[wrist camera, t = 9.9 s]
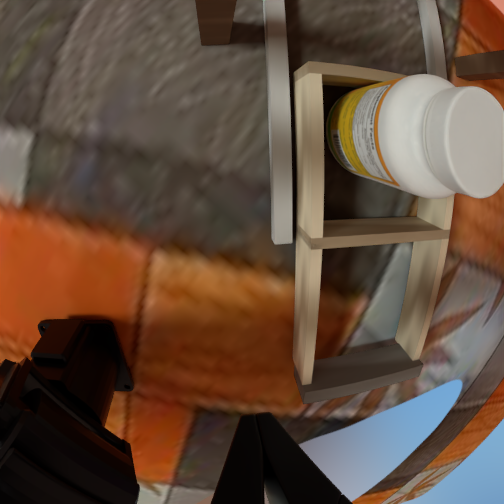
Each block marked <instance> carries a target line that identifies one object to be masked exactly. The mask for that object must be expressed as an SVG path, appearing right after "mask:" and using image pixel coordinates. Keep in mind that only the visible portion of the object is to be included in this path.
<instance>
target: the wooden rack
mask: <svg viewBox="0 0 504 504" xmlns="http://www.w3.org/2000/svg"><path fill="white" fill-rule="evenodd" d="M402 77H406V75H402V74H397V73H392V72H387V71H382V70H376V69H370V68H364V67H357V66H350V65H342V64H333V63H323V62H311V61H308V62H307V63H306V64H304V65H303V66H302V67H300V68H299V69H298V70H296V71H295V72H294V73H293V86H294V111H295V146H296V274H295V310H294V336H293V357H292V358H293V361H294V364H295V366H294V377H295V380H296V383H297V386H298V389H299V392H300V395H301V398H302V401H303V404H308V403H314V402H319V401H324V400H329V399H334V398H339V397H344V396H348V395H353V394H357V393H361V392H365V391H369V390H373V389H377V388H381V387H384V386H388V385H392V384H395V383H399V382H402V381H405V380H409V379H412V378H415V377H418V376H419V375H420V372H421V370H422V367H423V363H422V362H421V361H420V360H419V357H420V354H421V351H422V348H423V345H424V342H425V339H426V336H427V332H428V329H429V325H430V322H431V318H432V315H433V311H434V307H435V303H436V299H437V295H438V291H439V287H440V282H441V278H442V273H443V268H444V263H445V258H446V252H447V247H448V241H449V234H450V227H451V220H452V212H453V203H454V194H453V195H451V196H449V197H446V198H442V199H428V198H424V197H420V196H419V198H418V209H417V217H390V218H366V219H344V220H325V221H323V213H324V121H323V92H322V85H331V86H342V87H352V88H362V87H366V86H370V85H373V84H377V83H381V82H385V81H389V80H393V79H398V78H402ZM404 242H414V244H413V251H412V257H411V264H410V270H409V276H408V281H407V287H406V292H405V297H404V302H403V306H402V311H401V316H400V320H399V324H398V328H397V332H396V336H395V340H396V342H397V343H398V344H394V345H390V346H386V347H381V348H377V349H372V350H367V351H362V352H357V353H352V354H347V355H342V356H336V357H331V358H325V359H319V360H314V354H315V344H316V334H317V322H318V310H319V296H320V281H321V264H322V249H329V248H342V247H354V246H367V245H379V244H391V243H404Z"/></svg>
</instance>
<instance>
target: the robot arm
mask: <svg viewBox="0 0 504 504" xmlns="http://www.w3.org/2000/svg"><path fill="white" fill-rule="evenodd" d="M105 326H107V327H109V329H107V328H105ZM44 327H45V328H44ZM38 330H39V332H40V335H41V338H40V340H39V341H38V343H37V344H36V346H35V347H34V349H33V350H32V352H31V357H32V360H31V361H30V360H29V359H28V358H27V357H26V358H24V359H23V360H22V361H21V362H20V363H16V362H12V361H9V360H7V359H5V360H4V361H3V362H2V363H1V364H0V504H137V501H138V497H139V492H140V486H139V484H138V483H137V480H136V475H135V469H134V464H133V458H132V452H131V446H130V443H128V442H127V441H125V440H124V439H122V440H121V439H120V438H119V437H117V436H116V435H114V434H113V433H111V432H110V431H109V430H107V429H106V428H105V423H106V420H107V416H108V412H109V409H110V405H111V402H112V398H113V395H114V392H115V391H132V390H133V388H134V382H133V379H132V377H131V374H130V371H129V368H128V366H127V363H126V360H125V357H124V354H123V351H122V348H121V345H120V342H119V339H118V336H117V332H116V329H115V326H114V324H113V323H112V322H111V321H109V320H82V319H54V320H43V321H41V322H40V323H39V324H38ZM128 385H129V386H128ZM264 488H265V491H266V495H267V498H268V501H269V504H353V503H351V502H350V500H348V498H347V497H346V496H345V495H341V494H342V493H341V492H340V490H339V489H338V488H337V487H336V486H335V485H334V484H333V483H332V482H331V481H330V480H329V479H328V478H327V477H326V475H325V474H324V473H323V472H322V471H321V470H320V469H319V468H318V467H317V466H316V465H315V464H314V462H313V461H312V460H311V459H310V458H309V457H308V456H307V454H306V453H305V452H304V451H303V450H302V449H301V448H300V447H299V445H298V444H297V443H296V442H295V441H294V440H293V438H292V437H291V436H290V435H289V434H288V432H287V431H286V430H285V429H284V428H283V427H282V425H281V424H280V423H279V422H278V420H277V419H276V418H275V417H274V416H273V414H272V413H270V412H264V413H257V414H256V415H255V414H242V415H241V416H240V419H239V422H238V425H237V428H236V431H235V434H234V437H233V440H232V443H231V446H230V449H229V452H228V455H227V458H226V461H225V464H224V467H223V470H222V473H221V476H220V478H219V481H218V484H217V487H216V490H215V493H214V496H213V499H212V501H211V504H265V503H264Z"/></svg>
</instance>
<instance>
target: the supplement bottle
mask: <svg viewBox="0 0 504 504" xmlns="http://www.w3.org/2000/svg"><path fill="white" fill-rule="evenodd" d="M326 137H327V142H328V146H329V148H330V151H331V153H332V154H333V156H334V158H335V159H336V160H337V162H338V163H339V164H340V165H341V166H342V167H343V168H345V169H346V170H348V171H349V172H351V173H353V174H356V175H358V176H361V177H364V178H367V179H370V180H374V181H377V182H380V183H383V184H386V185H389V186H392V187H394V188H397V189H400V190H403V191H406V192H408V193H411V194H414V195H417V196H420V197H424V198H428V199H442V198H446V197H449V196H451V195H453V194H455V193H460V194H464V195H467V196H471V197H474V198H486V197H489V196H491V195H493V194H494V193H495V192H497V191H498V190H499V189H500V187H501V186H502V185H503V183H504V110H503V108H502V107H501V105H500V103H499V102H498V101H497V100H496V98H495V97H494V96H493V95H492V94H490V93H489V92H488V91H486V90H484V89H482V88H479V87H475V86H467V87H455V86H454V85H453V84H452V83H450V82H449V81H447V80H445V79H443V78H441V77H438V76H435V75H430V74H418V75H411V76H406V77H402V78H398V79H393V80H389V81H385V82H381V83H377V84H373V85H370V86H366V87H362V88H359V89H355V90H352V91H350V92H347V93H346V94H344V95H342V96H341V97H340V98H339V99H338V100H337V101H336V102H335V103H334V105H333V106H332V108H331V110H330V112H329V114H328V117H327V121H326Z"/></svg>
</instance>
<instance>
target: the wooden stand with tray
mask: <svg viewBox="0 0 504 504" xmlns="http://www.w3.org/2000/svg"><path fill="white" fill-rule="evenodd" d="M195 1H196V9H197V16H198V23H199V31H200V38H201V45H216V44H229V41H230V35H231V29H232V23H233V18H234V12H235V6H236V1H237V0H195ZM417 3H418V8H419V14H420V20H421V26H422V32H423V39H424V47H425V55H426V65H427V74H430V75H435V76H438V77H441V78H443V79H445V80H447V73H446V63H445V54H444V46H443V39H442V33H441V27H440V21H439V16H438V11H437V6H436V1H435V0H417ZM263 11H264V29H265V48H266V69H267V92H268V117H269V146H270V180H271V223H272V240H273V242H274V244H286V243H292V148H291V114H290V88H289V67H288V49H287V33H286V19H285V5H284V0H263ZM455 65H456V75H457V77H460V78H463V79H466V80H469V81H473V80H488V79H504V50H501V51H493V52H486V53H479V54H473V55H467V56H462V57H456V58H455Z"/></svg>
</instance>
